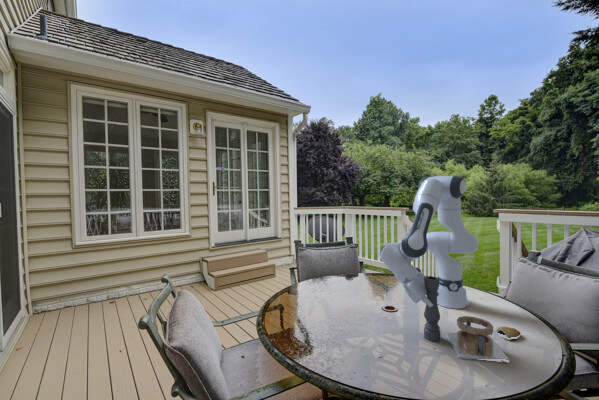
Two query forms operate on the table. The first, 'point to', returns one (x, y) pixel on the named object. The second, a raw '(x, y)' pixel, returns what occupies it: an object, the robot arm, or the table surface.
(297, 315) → the table surface
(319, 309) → the table surface
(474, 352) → the collar stand
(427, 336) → the candle holder
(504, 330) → the pastry
